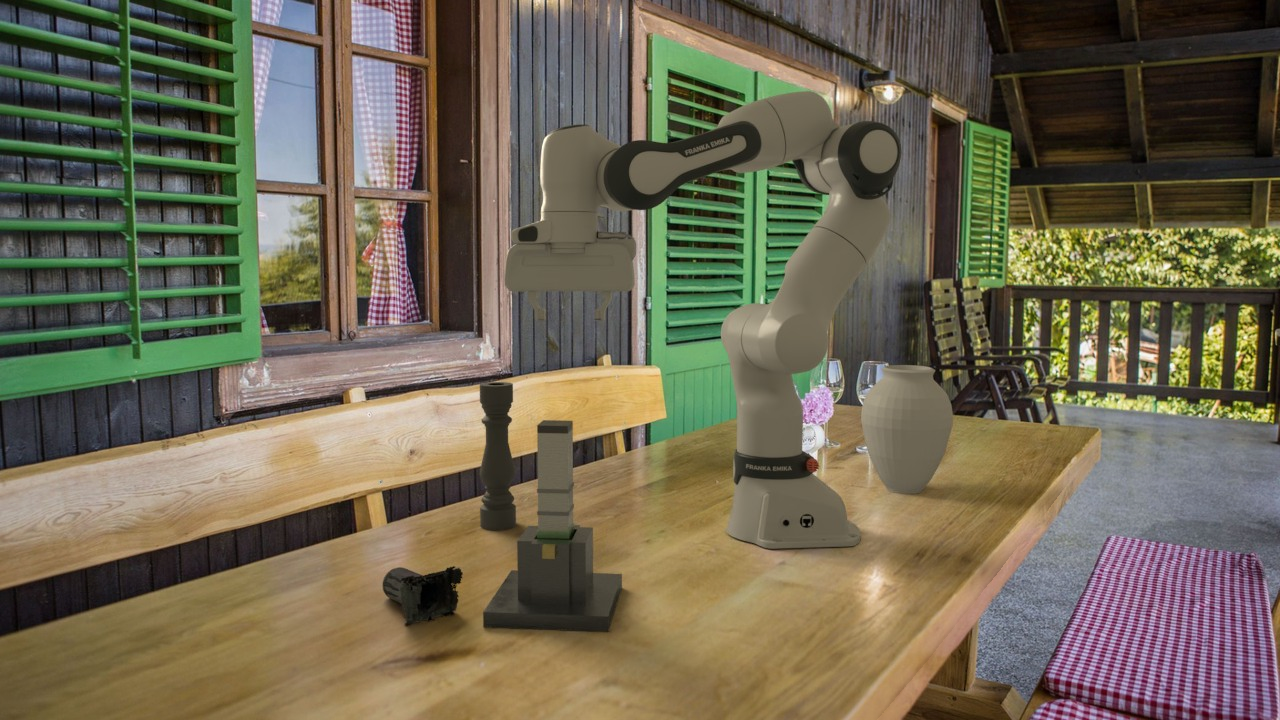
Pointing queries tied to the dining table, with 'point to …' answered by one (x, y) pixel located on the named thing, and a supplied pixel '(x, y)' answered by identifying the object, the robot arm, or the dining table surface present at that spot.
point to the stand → (555, 587)
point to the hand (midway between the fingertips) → (570, 320)
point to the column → (555, 480)
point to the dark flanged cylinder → (423, 592)
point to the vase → (906, 427)
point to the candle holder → (497, 458)
